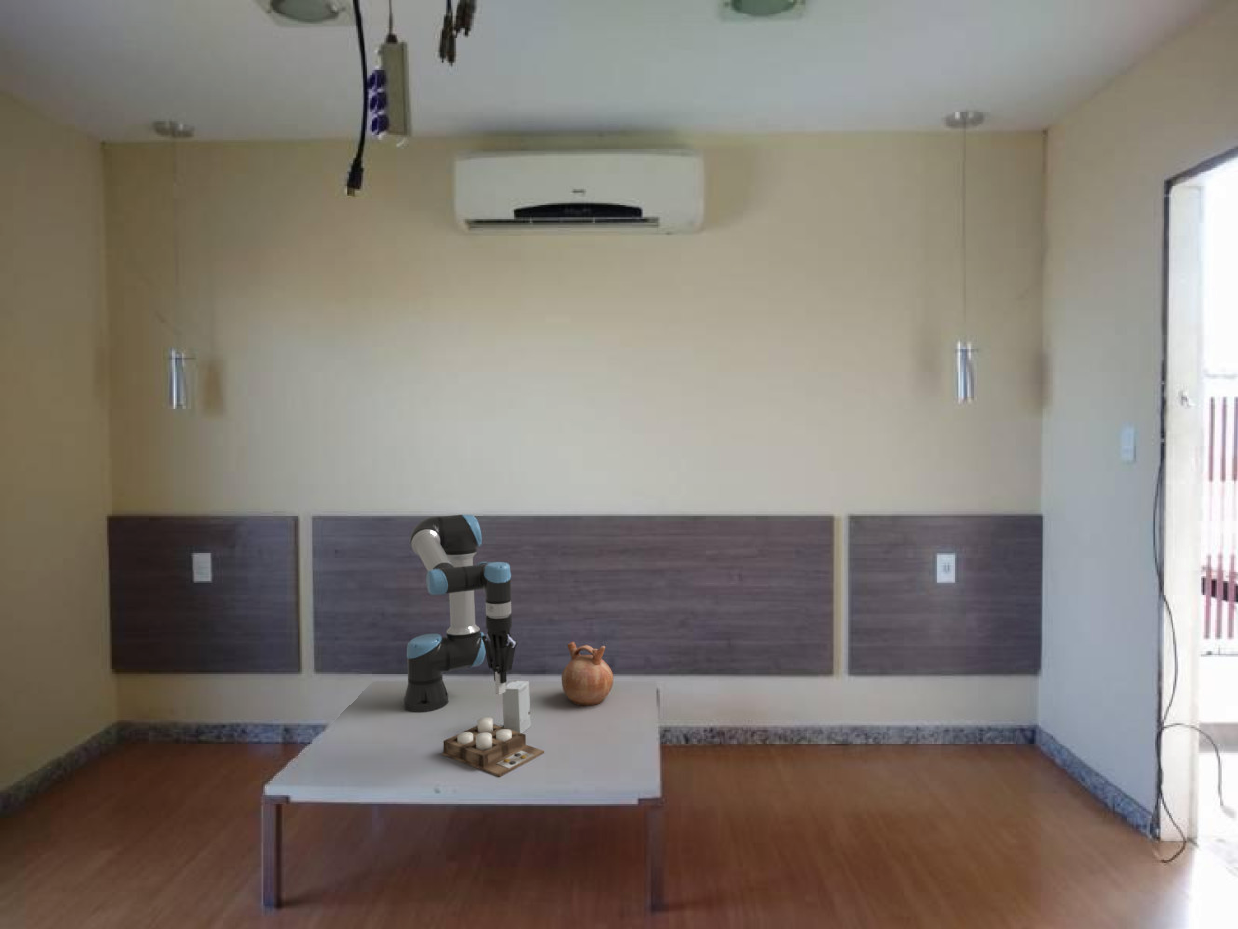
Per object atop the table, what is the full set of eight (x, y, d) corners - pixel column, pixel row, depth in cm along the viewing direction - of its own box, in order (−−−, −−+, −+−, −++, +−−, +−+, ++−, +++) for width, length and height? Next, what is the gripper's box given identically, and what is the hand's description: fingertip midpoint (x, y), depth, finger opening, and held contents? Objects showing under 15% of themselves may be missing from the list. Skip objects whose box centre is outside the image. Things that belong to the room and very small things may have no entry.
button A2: (474, 733, 230) (474, 721, 230) (485, 728, 233) (485, 716, 233) (485, 737, 227) (484, 724, 227) (496, 732, 231) (495, 719, 230)
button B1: (472, 750, 219) (472, 736, 218) (484, 744, 222) (484, 731, 222) (483, 754, 216) (483, 740, 216) (495, 748, 220) (495, 735, 219)
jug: (624, 695, 267) (623, 640, 266) (595, 713, 252) (594, 654, 250) (581, 686, 277) (580, 632, 275) (551, 702, 262) (549, 646, 260)
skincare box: (520, 737, 234) (519, 690, 233) (502, 734, 236) (501, 688, 235) (531, 726, 242) (530, 680, 241) (514, 724, 244) (513, 679, 243)
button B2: (493, 746, 225) (492, 733, 225) (504, 740, 229) (504, 727, 229) (504, 750, 222) (503, 737, 222) (515, 744, 226) (514, 731, 226)
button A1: (454, 749, 224) (454, 736, 223) (466, 743, 227) (465, 730, 227) (465, 753, 221) (464, 740, 221) (476, 747, 224) (476, 734, 224)
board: (442, 754, 223) (442, 741, 223) (487, 733, 237) (487, 721, 237) (499, 777, 208) (499, 762, 208) (544, 753, 223) (543, 739, 222)
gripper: (474, 614, 225) (476, 691, 227) (505, 621, 217) (507, 701, 219) (492, 609, 231) (494, 684, 233) (523, 615, 223) (525, 693, 225)
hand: (500, 692), depth 226 cm, fingers closed
